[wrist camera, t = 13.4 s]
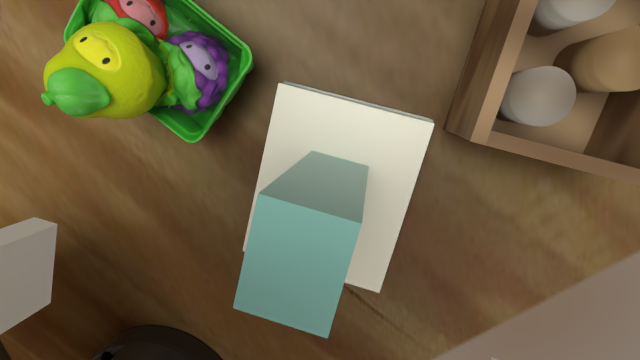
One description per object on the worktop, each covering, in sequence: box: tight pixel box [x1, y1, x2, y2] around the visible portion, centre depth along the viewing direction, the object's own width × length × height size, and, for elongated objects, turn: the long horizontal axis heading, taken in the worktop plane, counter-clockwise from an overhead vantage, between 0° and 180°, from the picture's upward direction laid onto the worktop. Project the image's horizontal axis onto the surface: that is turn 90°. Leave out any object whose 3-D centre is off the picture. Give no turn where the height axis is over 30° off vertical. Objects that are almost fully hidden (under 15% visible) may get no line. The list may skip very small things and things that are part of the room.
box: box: [443, 0, 640, 186], centre depth 21 cm, size 12×10×8 cm
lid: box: [233, 83, 435, 339], centre depth 21 cm, size 13×11×14 cm
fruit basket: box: [41, 0, 254, 143], centre depth 23 cm, size 11×9×11 cm
